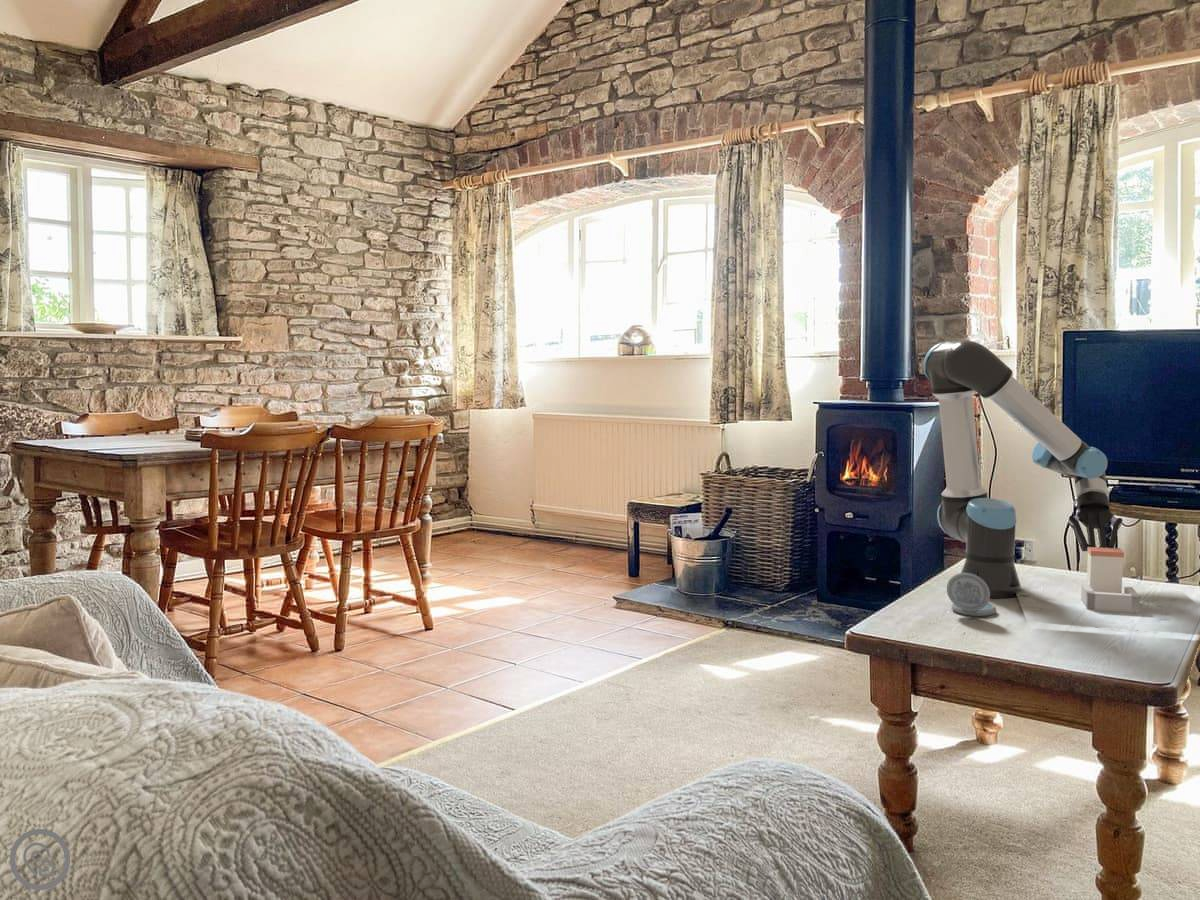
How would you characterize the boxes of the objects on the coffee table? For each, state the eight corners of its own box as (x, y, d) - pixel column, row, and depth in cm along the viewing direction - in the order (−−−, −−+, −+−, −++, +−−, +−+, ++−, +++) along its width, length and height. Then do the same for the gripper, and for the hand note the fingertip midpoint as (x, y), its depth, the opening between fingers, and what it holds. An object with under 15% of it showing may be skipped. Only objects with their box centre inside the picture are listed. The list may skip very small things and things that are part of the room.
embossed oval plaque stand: (944, 570, 231) (960, 559, 244) (943, 616, 232) (959, 602, 245) (989, 575, 226) (1003, 563, 238) (988, 622, 227) (1002, 608, 239)
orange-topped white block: (1085, 594, 247) (1087, 546, 246) (1117, 596, 245) (1119, 548, 244) (1088, 599, 242) (1091, 550, 241) (1121, 601, 240) (1123, 552, 239)
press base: (1068, 595, 251) (1069, 575, 251) (1130, 599, 247) (1131, 579, 246) (1080, 615, 232) (1081, 594, 232) (1147, 619, 228) (1148, 598, 228)
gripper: (1117, 507, 264) (1127, 583, 250) (1063, 505, 268) (1070, 579, 254) (1122, 490, 258) (1132, 566, 244) (1067, 488, 262) (1074, 563, 248)
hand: (1100, 573), depth 249 cm, fingers closed
